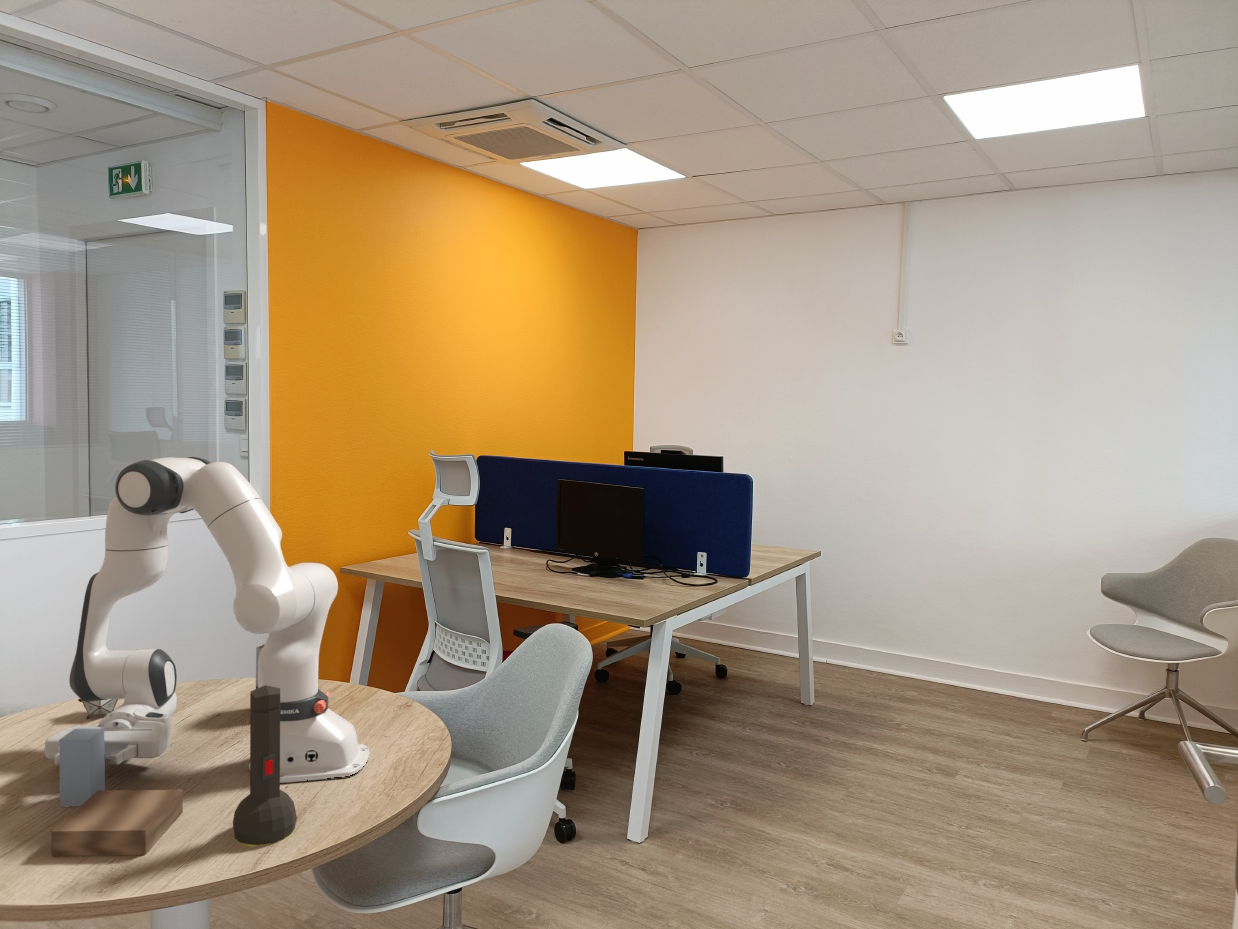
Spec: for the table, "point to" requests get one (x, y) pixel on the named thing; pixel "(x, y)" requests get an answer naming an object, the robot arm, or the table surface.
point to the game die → (99, 706)
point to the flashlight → (264, 777)
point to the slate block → (81, 765)
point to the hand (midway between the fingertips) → (86, 760)
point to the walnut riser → (117, 823)
